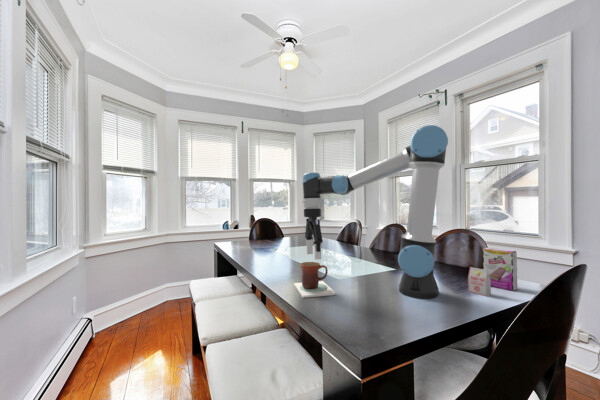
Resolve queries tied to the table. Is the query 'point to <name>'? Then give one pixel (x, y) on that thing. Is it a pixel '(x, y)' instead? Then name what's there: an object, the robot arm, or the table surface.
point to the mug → (311, 274)
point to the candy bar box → (501, 267)
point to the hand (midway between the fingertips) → (313, 256)
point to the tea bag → (479, 282)
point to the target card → (315, 290)
